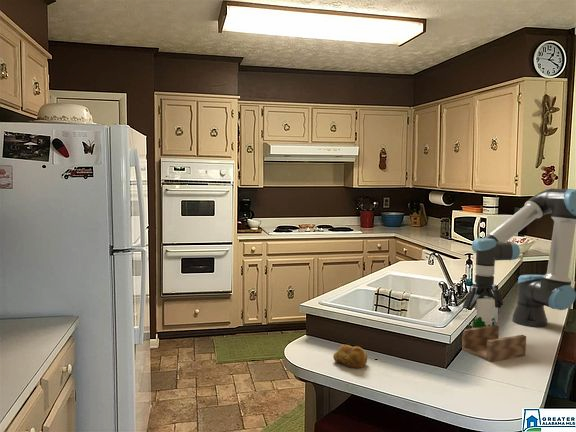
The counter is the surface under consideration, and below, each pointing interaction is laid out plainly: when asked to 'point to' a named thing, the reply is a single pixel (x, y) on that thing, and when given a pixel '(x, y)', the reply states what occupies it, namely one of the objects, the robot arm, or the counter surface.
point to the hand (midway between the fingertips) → (482, 323)
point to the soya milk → (484, 312)
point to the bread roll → (351, 356)
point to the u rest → (492, 344)
